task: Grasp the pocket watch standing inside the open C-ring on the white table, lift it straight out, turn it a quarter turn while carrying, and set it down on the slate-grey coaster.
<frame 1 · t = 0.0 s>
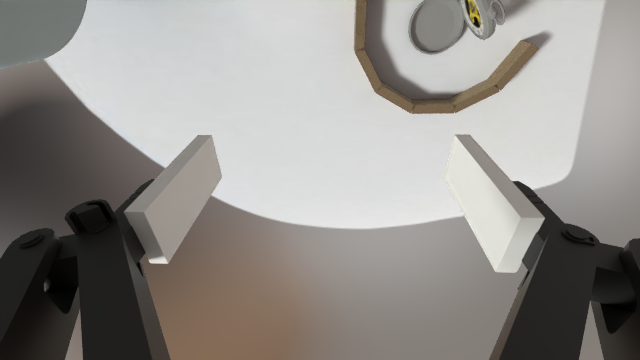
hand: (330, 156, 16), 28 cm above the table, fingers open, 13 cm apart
pocket watch: (443, 20, 36), resting in c ring
c ring: (444, 20, 36), on the table
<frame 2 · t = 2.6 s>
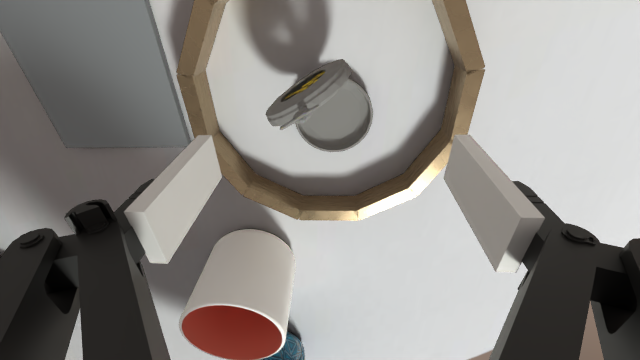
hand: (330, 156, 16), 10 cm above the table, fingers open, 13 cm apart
lamp: (274, 340, 46), on the table
pocket watch: (327, 100, 25), resting in c ring
coaster: (103, 80, 24), on the table
cup: (256, 253, 36), on the table
c ring: (327, 100, 25), on the table
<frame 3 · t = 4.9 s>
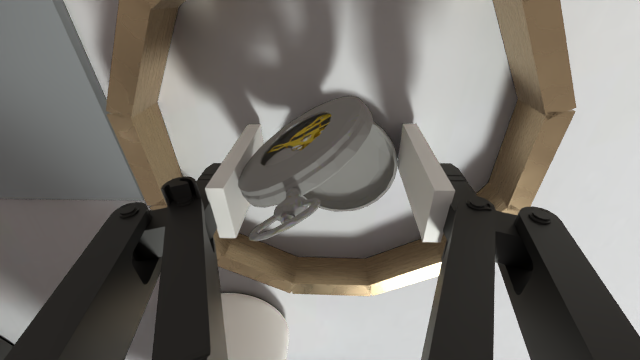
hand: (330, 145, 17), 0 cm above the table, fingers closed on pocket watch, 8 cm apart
pocket watch: (333, 143, 18), resting in c ring, touching gripper
coaster: (17, 114, 17), on the table
cup: (241, 316, 29), on the table
c ring: (331, 144, 17), on the table
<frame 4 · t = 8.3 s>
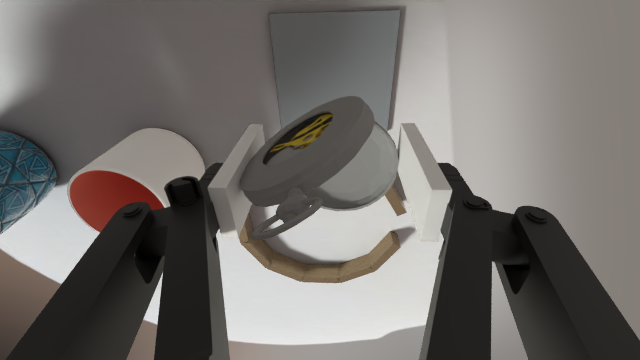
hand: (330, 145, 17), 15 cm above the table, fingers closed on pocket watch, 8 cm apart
lamp: (24, 159, 38), on the table
pocket watch: (334, 142, 18), point 15 cm above the table, touching gripper
coaster: (333, 78, 30), on the table
cup: (170, 159, 37), on the table
c ring: (319, 216, 41), on the table
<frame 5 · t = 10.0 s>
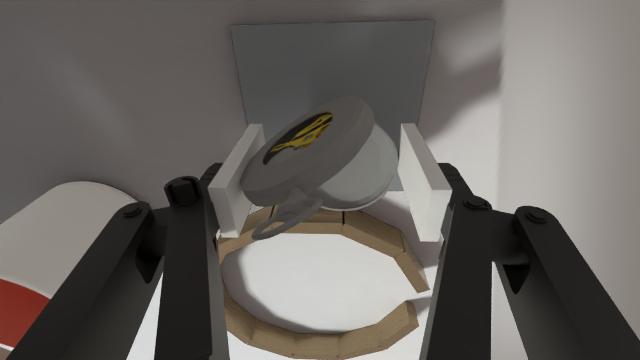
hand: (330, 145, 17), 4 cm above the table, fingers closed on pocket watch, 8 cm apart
pocket watch: (334, 143, 18), point 4 cm above the table, touching gripper
coaster: (331, 117, 21), on the table
cup: (112, 217, 28), on the table
c ring: (313, 284, 31), on the table
when the fingers open (2 cm above the table, at t = 11.4 s): pocket watch drops 1 cm, resting on coaster.
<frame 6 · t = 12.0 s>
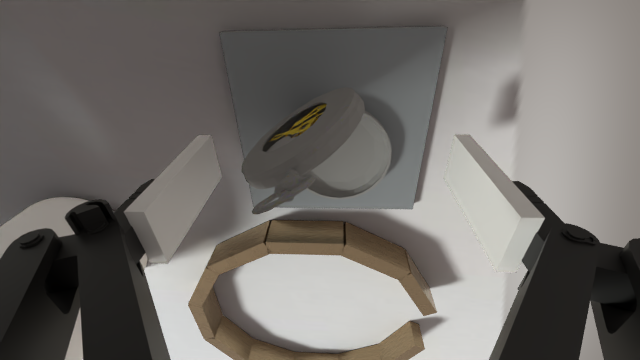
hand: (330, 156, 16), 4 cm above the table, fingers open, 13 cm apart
pocket watch: (331, 134, 19), resting on coaster
coaster: (331, 131, 19), on the table
cup: (98, 233, 26), on the table
c ring: (312, 303, 29), on the table
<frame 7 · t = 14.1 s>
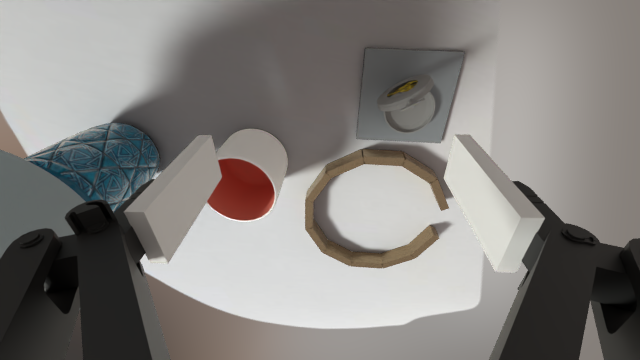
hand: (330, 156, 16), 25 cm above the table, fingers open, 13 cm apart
lamp: (133, 148, 46), on the table
pocket watch: (405, 99, 38), resting on coaster
coaster: (405, 98, 39), on the table
cup: (257, 155, 45), on the table
c ring: (372, 209, 49), on the table
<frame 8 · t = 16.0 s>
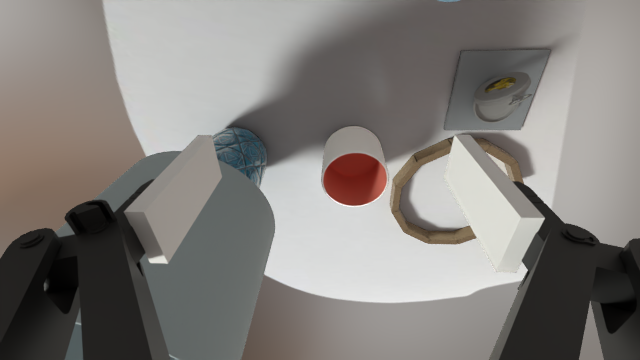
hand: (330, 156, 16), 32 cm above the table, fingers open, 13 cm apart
lamp: (241, 149, 52), on the table
pocket watch: (492, 93, 44), resting on coaster
coaster: (491, 92, 44), on the table
cup: (352, 149, 51), on the table
c ring: (450, 192, 55), on the table
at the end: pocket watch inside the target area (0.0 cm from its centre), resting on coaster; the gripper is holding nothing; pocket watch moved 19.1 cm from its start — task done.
